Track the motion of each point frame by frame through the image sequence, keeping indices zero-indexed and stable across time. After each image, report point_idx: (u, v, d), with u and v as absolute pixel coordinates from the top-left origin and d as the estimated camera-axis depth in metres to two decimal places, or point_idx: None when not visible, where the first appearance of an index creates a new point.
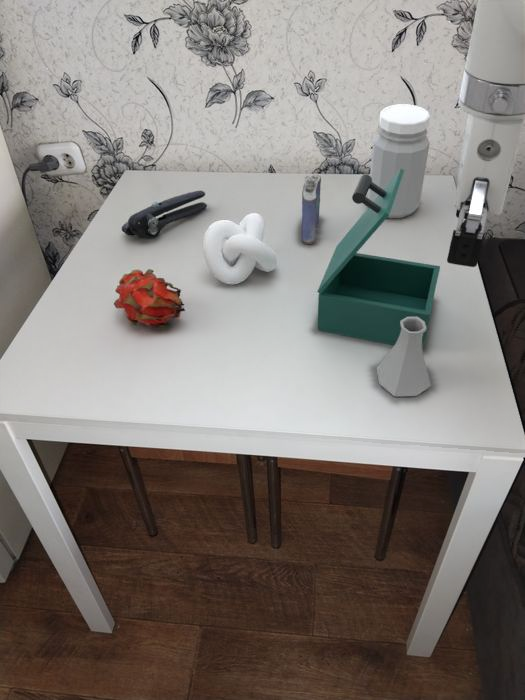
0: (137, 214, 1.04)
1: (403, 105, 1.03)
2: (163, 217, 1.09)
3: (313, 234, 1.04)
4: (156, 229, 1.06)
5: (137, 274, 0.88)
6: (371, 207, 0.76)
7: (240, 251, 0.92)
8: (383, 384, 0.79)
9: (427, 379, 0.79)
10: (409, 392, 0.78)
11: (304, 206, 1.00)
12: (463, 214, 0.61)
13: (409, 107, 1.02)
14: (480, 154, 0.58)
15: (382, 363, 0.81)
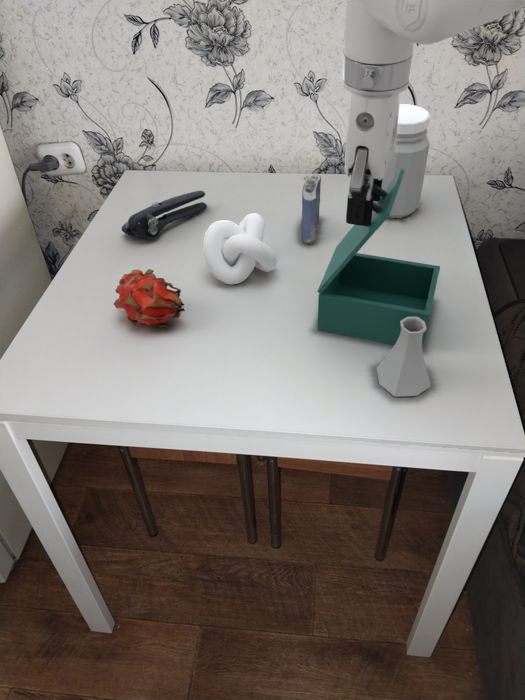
0: (137, 214, 1.04)
1: (403, 105, 1.03)
2: (163, 217, 1.09)
3: (313, 234, 1.04)
4: (156, 229, 1.06)
5: (137, 274, 0.88)
6: None
7: (240, 251, 0.92)
8: (383, 384, 0.79)
9: (427, 379, 0.79)
10: (409, 392, 0.78)
11: (304, 206, 1.00)
12: None
13: (409, 107, 1.02)
14: (360, 126, 0.67)
15: (382, 363, 0.81)
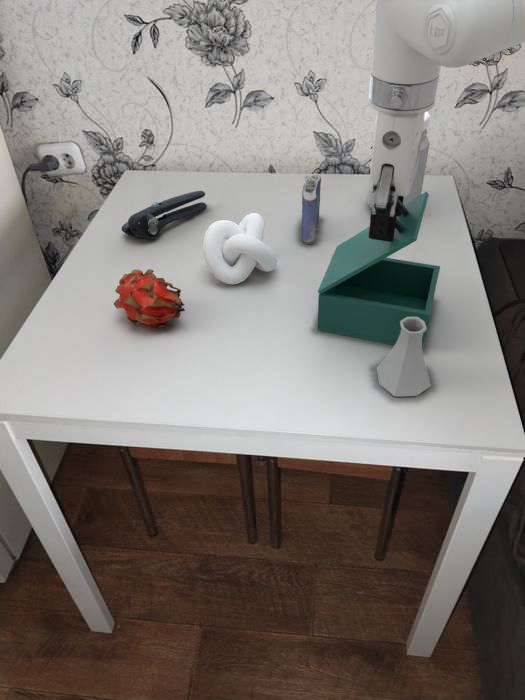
0: (137, 214, 1.04)
1: None
2: (163, 217, 1.09)
3: (313, 234, 1.04)
4: (156, 229, 1.06)
5: (137, 274, 0.88)
6: (396, 226, 0.76)
7: (240, 251, 0.92)
8: (383, 384, 0.79)
9: (427, 379, 0.79)
10: (409, 392, 0.78)
11: (304, 206, 1.00)
12: (377, 198, 0.73)
13: None
14: (386, 144, 0.68)
15: (382, 363, 0.81)
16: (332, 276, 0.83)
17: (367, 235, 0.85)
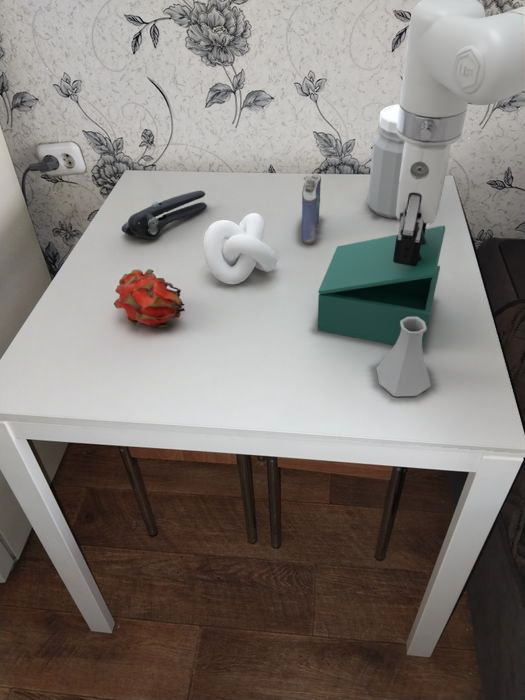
0: (137, 214, 1.04)
1: None
2: (163, 217, 1.09)
3: (313, 234, 1.04)
4: (156, 229, 1.06)
5: (137, 274, 0.88)
6: None
7: (240, 251, 0.92)
8: (383, 384, 0.79)
9: (427, 379, 0.79)
10: (409, 392, 0.78)
11: (304, 206, 1.00)
12: (403, 224, 0.74)
13: None
14: (413, 173, 0.69)
15: (382, 363, 0.81)
16: (335, 280, 0.84)
17: (375, 248, 0.86)
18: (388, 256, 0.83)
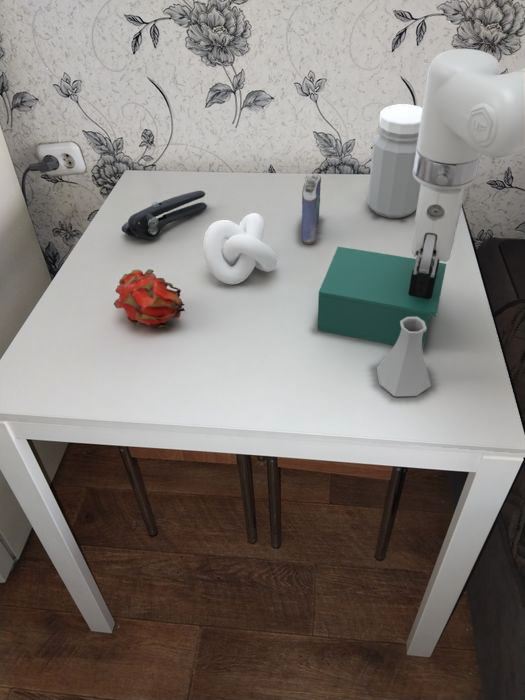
0: (137, 214, 1.04)
1: (403, 105, 1.03)
2: (163, 217, 1.09)
3: (313, 234, 1.04)
4: (156, 229, 1.06)
5: (137, 274, 0.88)
6: None
7: (240, 251, 0.92)
8: (383, 384, 0.79)
9: (427, 379, 0.79)
10: (409, 392, 0.78)
11: (304, 206, 1.00)
12: (418, 261, 0.77)
13: (409, 107, 1.02)
14: (429, 214, 0.72)
15: (382, 363, 0.81)
16: (337, 285, 0.84)
17: (378, 264, 0.88)
18: (391, 277, 0.85)
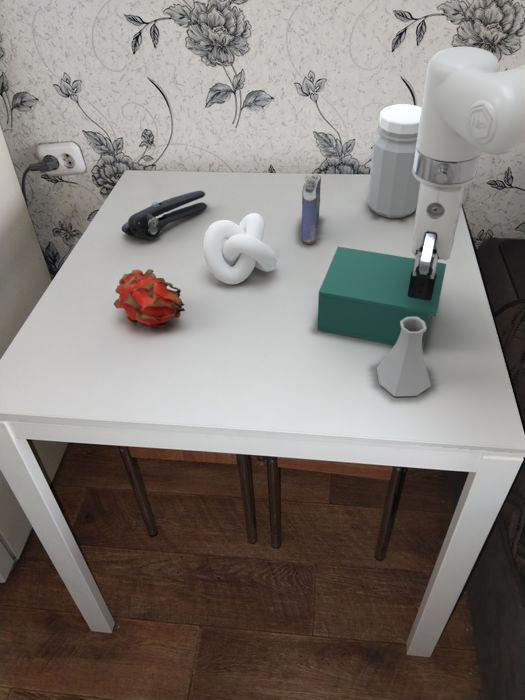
0: (137, 214, 1.04)
1: (403, 105, 1.03)
2: (163, 217, 1.09)
3: (313, 234, 1.04)
4: (156, 229, 1.06)
5: (137, 274, 0.88)
6: None
7: (240, 251, 0.92)
8: (383, 384, 0.79)
9: (427, 379, 0.79)
10: (409, 392, 0.78)
11: (304, 206, 1.00)
12: (418, 259, 0.75)
13: (409, 107, 1.02)
14: (429, 213, 0.72)
15: (382, 363, 0.81)
16: (337, 285, 0.84)
17: (378, 264, 0.88)
18: (391, 277, 0.85)
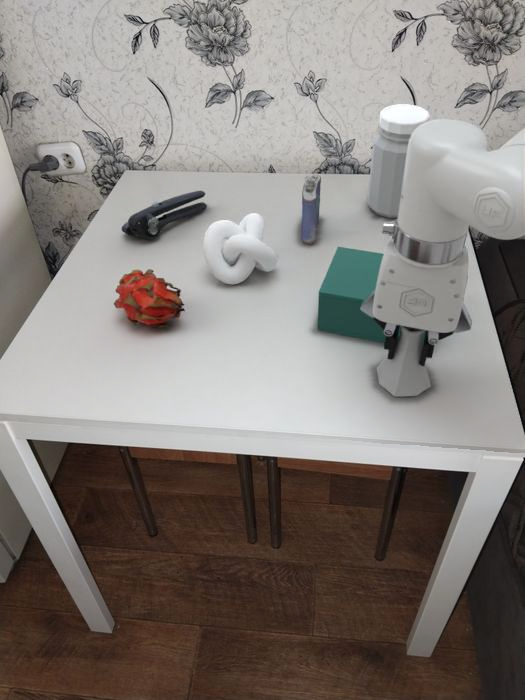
0: (137, 214, 1.04)
1: (403, 105, 1.03)
2: (163, 217, 1.09)
3: (313, 234, 1.04)
4: (156, 229, 1.06)
5: (137, 274, 0.88)
6: None
7: (240, 251, 0.92)
8: (383, 384, 0.79)
9: (427, 379, 0.79)
10: (409, 392, 0.78)
11: (304, 206, 1.00)
12: None
13: (409, 107, 1.02)
14: None
15: (382, 363, 0.81)
16: (337, 285, 0.84)
17: (378, 264, 0.88)
18: None
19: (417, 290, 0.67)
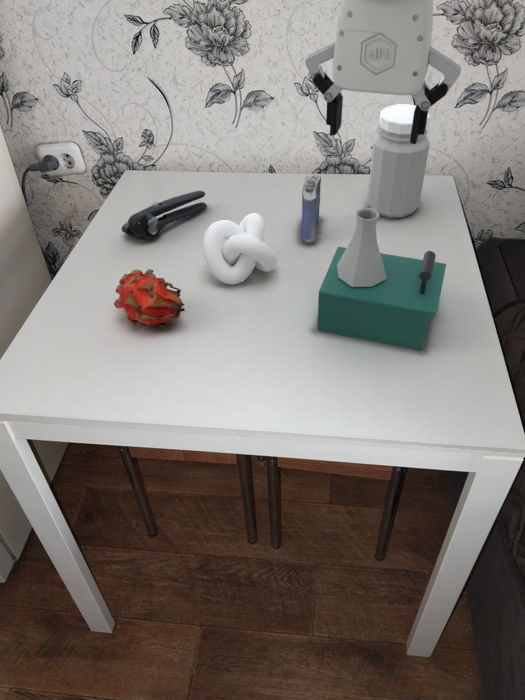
0: (137, 214, 1.04)
1: (403, 105, 1.03)
2: (163, 217, 1.09)
3: (313, 234, 1.04)
4: (156, 229, 1.06)
5: (137, 274, 0.88)
6: (422, 287, 0.81)
7: (240, 251, 0.92)
8: (342, 276, 0.84)
9: (383, 271, 0.84)
10: (365, 282, 0.83)
11: (304, 206, 1.00)
12: None
13: (409, 107, 1.02)
14: None
15: (341, 258, 0.86)
16: (337, 285, 0.84)
17: None
18: (391, 277, 0.85)
19: (378, 36, 0.61)
